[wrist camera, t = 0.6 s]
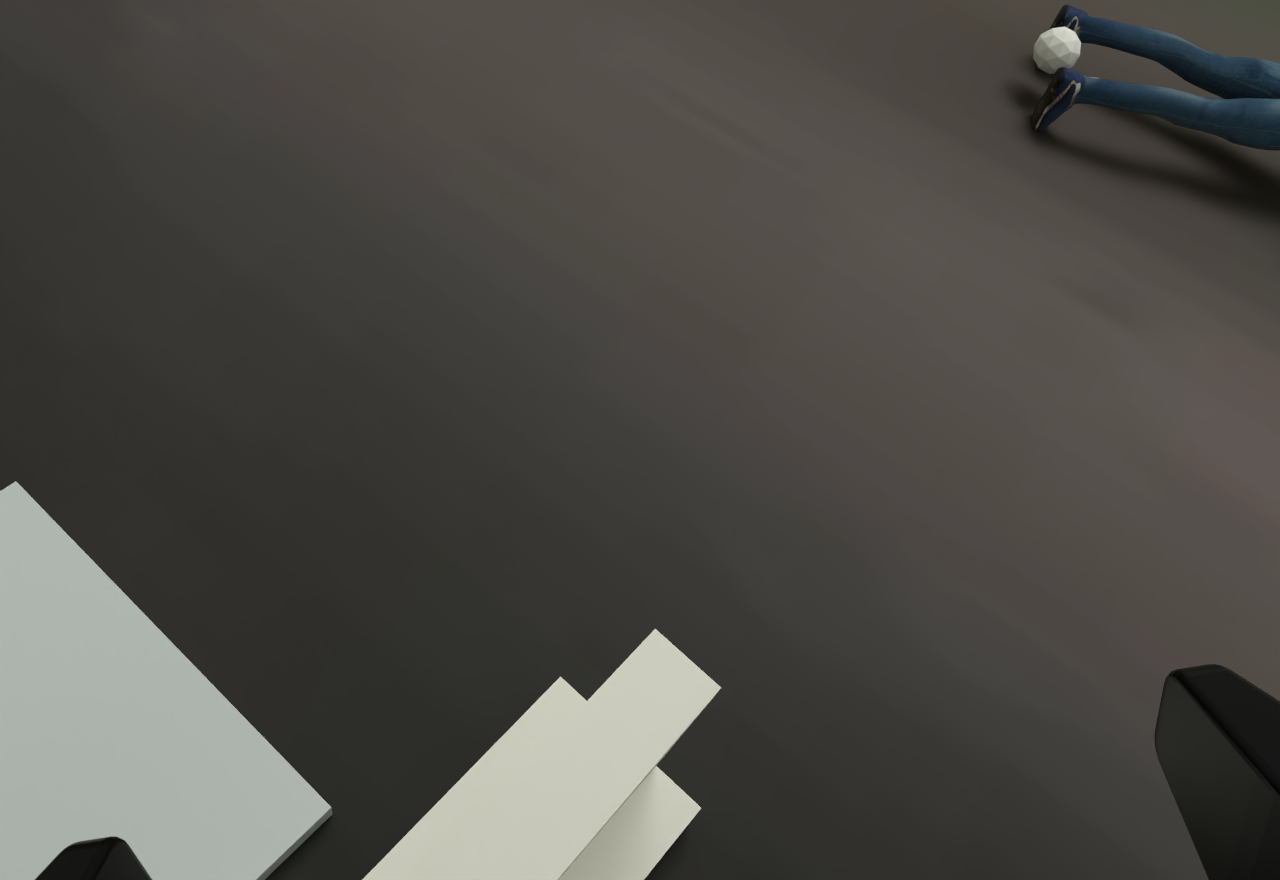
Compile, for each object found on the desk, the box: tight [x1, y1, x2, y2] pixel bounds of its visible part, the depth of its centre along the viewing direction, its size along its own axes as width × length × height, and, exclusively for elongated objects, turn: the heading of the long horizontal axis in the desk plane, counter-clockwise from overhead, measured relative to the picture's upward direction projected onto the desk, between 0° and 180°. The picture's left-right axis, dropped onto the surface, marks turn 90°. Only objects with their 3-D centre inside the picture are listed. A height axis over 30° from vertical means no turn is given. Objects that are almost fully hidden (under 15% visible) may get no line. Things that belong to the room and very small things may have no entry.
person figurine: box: [1032, 5, 1280, 150], centre depth 38 cm, size 11×4×18 cm
